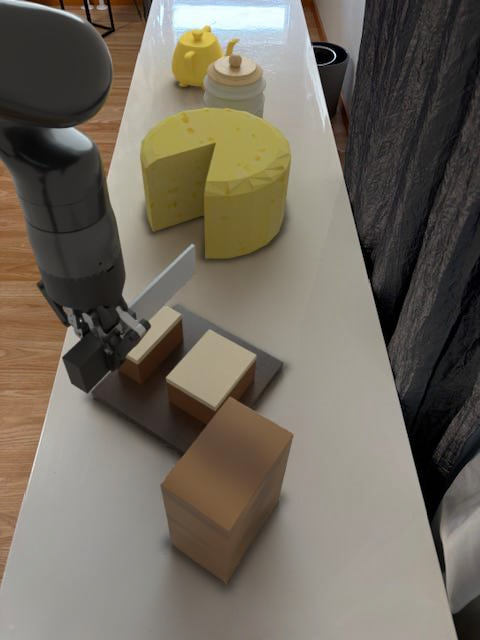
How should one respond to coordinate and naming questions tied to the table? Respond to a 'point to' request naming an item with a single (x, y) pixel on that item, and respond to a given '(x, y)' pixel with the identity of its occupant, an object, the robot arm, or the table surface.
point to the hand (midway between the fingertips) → (106, 358)
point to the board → (152, 396)
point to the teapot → (197, 55)
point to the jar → (235, 85)
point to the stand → (226, 487)
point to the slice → (154, 345)
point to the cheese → (217, 177)
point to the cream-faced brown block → (210, 376)
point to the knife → (88, 354)
